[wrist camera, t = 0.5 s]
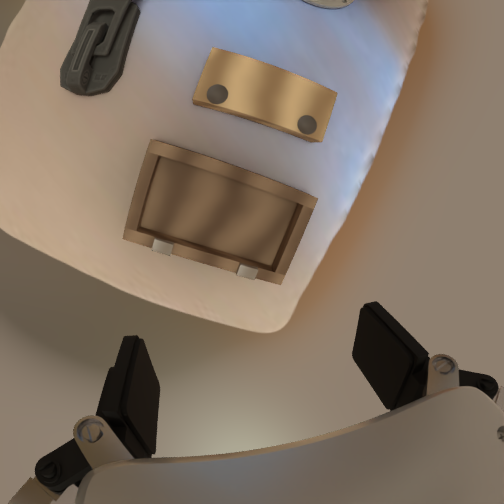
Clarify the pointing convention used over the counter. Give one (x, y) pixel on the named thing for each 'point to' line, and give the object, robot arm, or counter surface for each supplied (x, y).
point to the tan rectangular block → (265, 95)
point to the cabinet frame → (216, 213)
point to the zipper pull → (99, 47)
